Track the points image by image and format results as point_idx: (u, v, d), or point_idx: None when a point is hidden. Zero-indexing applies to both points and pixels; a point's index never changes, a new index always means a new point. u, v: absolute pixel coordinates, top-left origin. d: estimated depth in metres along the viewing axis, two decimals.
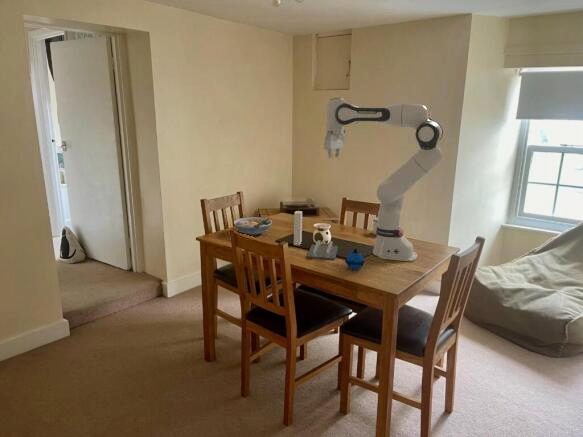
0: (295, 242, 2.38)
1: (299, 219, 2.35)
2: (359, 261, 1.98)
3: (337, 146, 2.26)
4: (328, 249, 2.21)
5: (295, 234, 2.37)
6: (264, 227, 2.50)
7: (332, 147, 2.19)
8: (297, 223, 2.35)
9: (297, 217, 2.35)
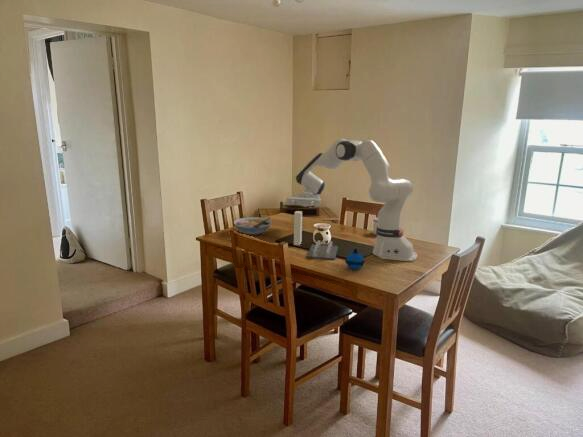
0: (295, 242, 2.38)
1: (299, 219, 2.35)
2: (359, 261, 1.98)
3: (303, 198, 2.53)
4: (328, 249, 2.21)
5: (295, 234, 2.37)
6: (264, 227, 2.50)
7: (291, 198, 2.54)
8: (297, 223, 2.36)
9: (297, 217, 2.35)
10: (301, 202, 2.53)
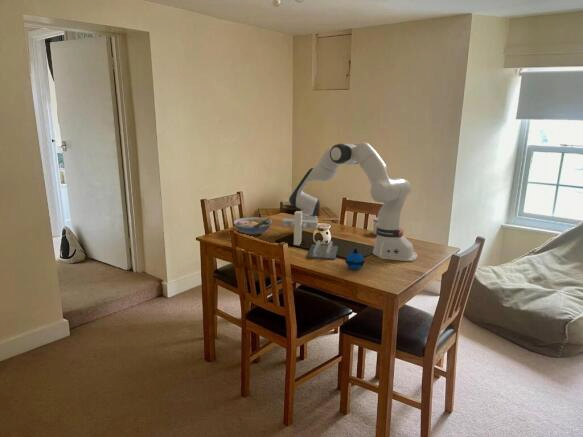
0: (295, 242, 2.38)
1: (299, 219, 2.35)
2: (359, 261, 1.98)
3: None
4: (328, 249, 2.21)
5: (295, 234, 2.37)
6: (264, 227, 2.50)
7: (287, 220, 2.44)
8: (297, 223, 2.35)
9: (298, 217, 2.35)
10: None
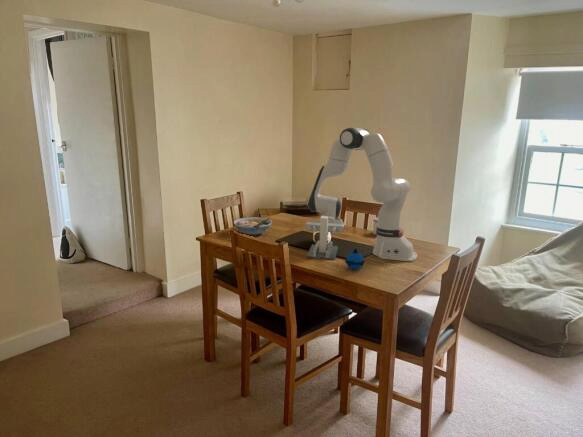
0: (321, 249, 2.24)
1: (325, 225, 2.20)
2: (359, 261, 1.98)
3: None
4: (328, 249, 2.21)
5: (321, 240, 2.23)
6: (264, 227, 2.50)
7: (311, 223, 2.29)
8: (323, 228, 2.21)
9: (324, 222, 2.20)
10: None
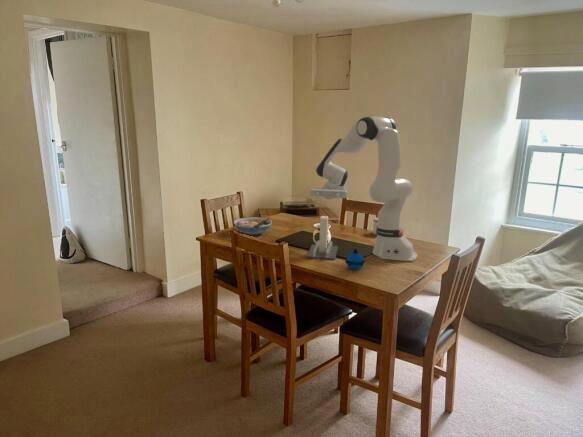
0: (321, 249, 2.24)
1: (325, 225, 2.20)
2: (359, 261, 1.98)
3: (328, 190, 2.37)
4: (328, 249, 2.21)
5: (321, 240, 2.23)
6: (264, 227, 2.50)
7: (315, 189, 2.38)
8: (323, 228, 2.21)
9: (324, 222, 2.20)
10: (326, 194, 2.37)
